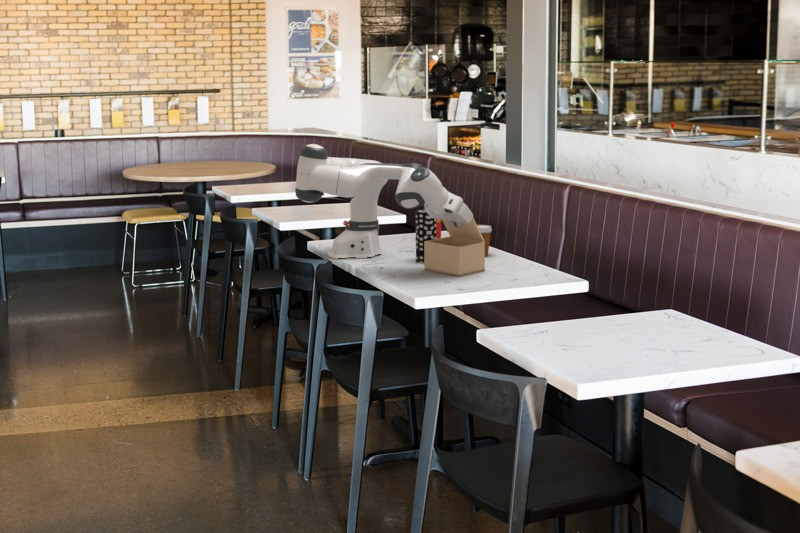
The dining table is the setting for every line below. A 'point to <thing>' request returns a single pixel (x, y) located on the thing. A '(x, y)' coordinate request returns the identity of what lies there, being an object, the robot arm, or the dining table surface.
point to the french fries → (438, 228)
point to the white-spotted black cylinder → (424, 232)
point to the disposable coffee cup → (485, 236)
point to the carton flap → (464, 230)
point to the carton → (454, 256)
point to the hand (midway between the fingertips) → (458, 225)
